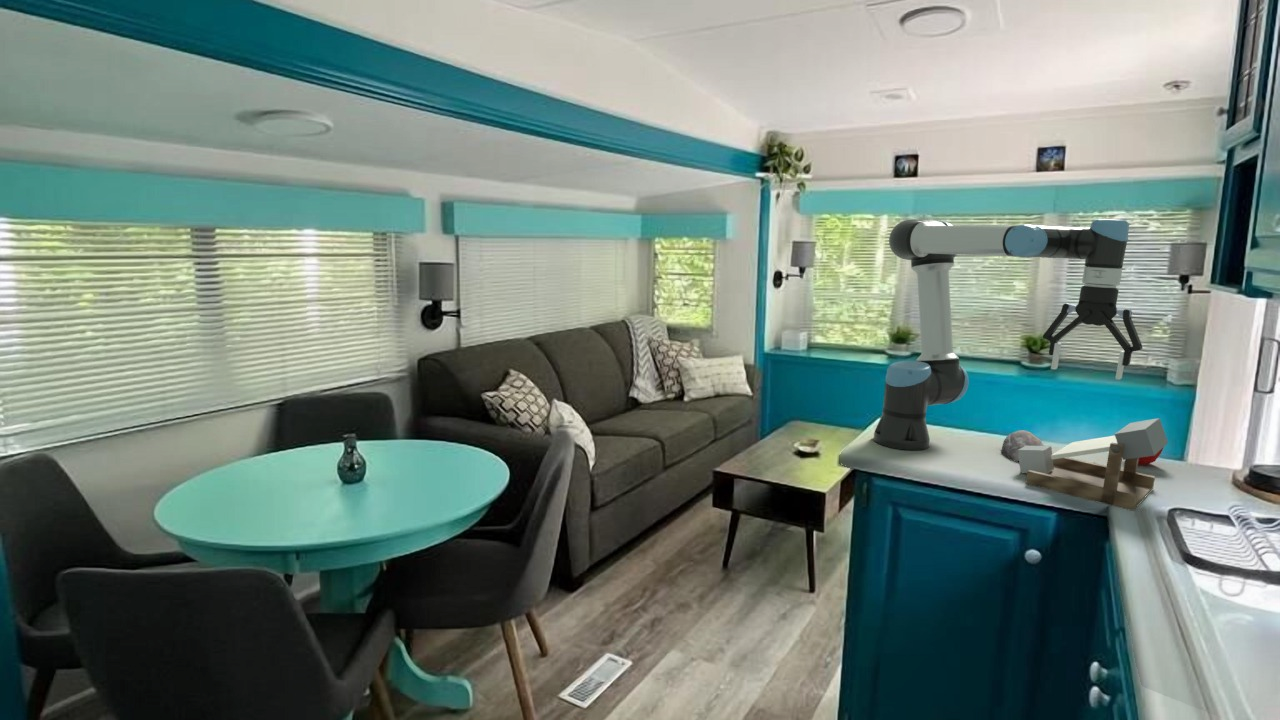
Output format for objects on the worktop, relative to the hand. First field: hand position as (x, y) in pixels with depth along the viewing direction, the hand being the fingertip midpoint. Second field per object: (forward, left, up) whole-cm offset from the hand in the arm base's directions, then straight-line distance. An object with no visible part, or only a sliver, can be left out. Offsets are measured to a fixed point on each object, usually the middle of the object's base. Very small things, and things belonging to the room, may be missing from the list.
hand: (1085, 373), depth 167 cm
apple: (+8, +34, -28) cm, 44 cm away
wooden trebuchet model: (+4, 0, -27) cm, 28 cm away
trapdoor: (+8, 0, -19) cm, 20 cm away
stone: (-14, +14, -28) cm, 34 cm away
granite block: (-9, 0, -21) cm, 22 cm away
